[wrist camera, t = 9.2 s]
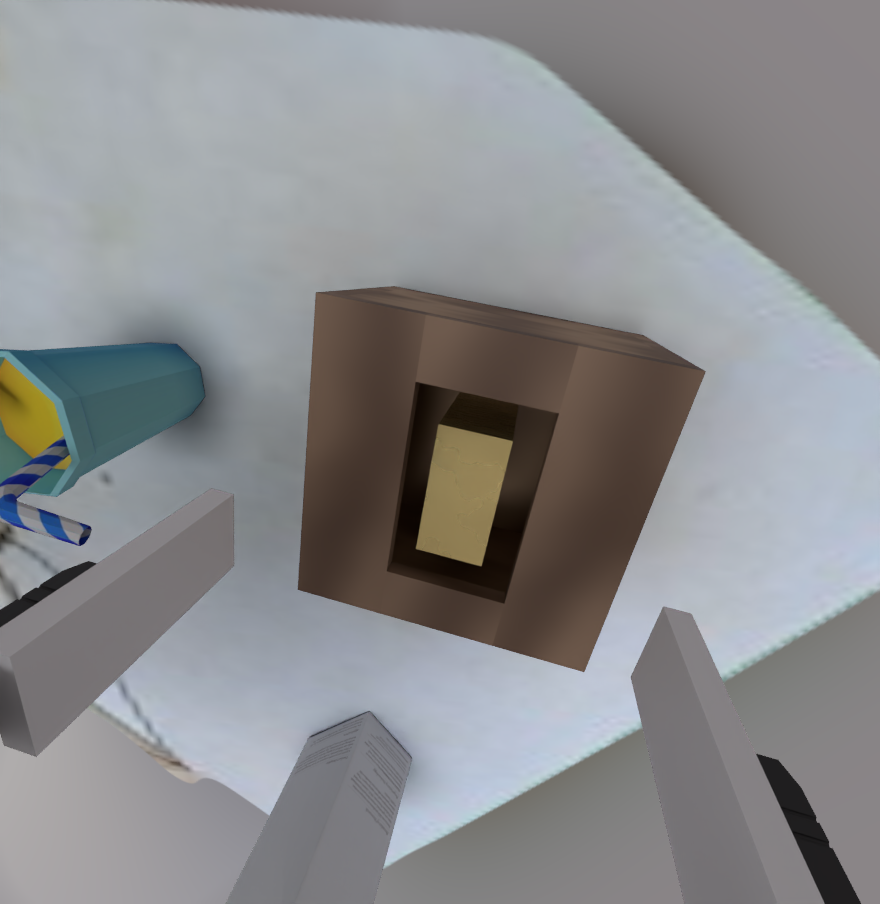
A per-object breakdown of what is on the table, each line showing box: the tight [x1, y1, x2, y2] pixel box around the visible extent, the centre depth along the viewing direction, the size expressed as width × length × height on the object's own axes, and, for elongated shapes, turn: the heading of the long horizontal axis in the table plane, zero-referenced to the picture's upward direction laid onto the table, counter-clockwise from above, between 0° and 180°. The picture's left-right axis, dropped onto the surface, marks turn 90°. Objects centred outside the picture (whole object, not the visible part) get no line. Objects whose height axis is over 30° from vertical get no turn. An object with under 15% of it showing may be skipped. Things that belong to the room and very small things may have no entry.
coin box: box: [298, 286, 706, 672], centre depth 23 cm, size 14×14×10 cm
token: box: [416, 392, 519, 566], centre depth 23 cm, size 3×6×9 cm, turn 170°
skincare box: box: [226, 712, 412, 904], centre depth 34 cm, size 8×7×16 cm
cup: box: [0, 343, 205, 546], centre depth 24 cm, size 14×8×15 cm, turn 67°
